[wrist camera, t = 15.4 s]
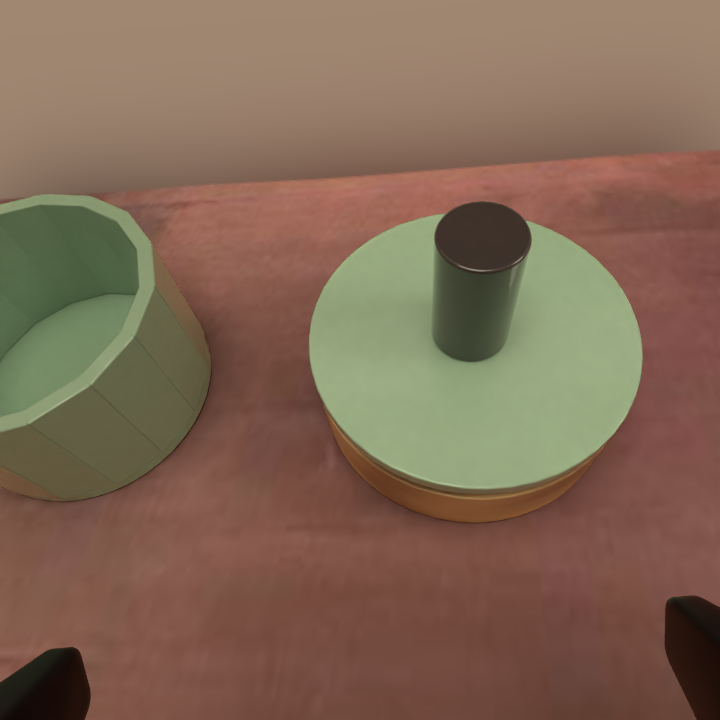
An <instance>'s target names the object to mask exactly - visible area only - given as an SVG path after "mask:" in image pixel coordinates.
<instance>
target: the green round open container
mask: <svg viewBox="0 0 720 720" xmlns="http://www.w3.org/2000/svg"><path fill="white" fill-rule="evenodd" d="M210 375H211V356H210V351H209V346H208V342H207V340H206V337H205V335H204V330H203V328H202V326H201V324H200V323H199V321H198V319H197V318H196V316H195V314H194V313H193V311H192V309H191V308H190V306H189V304H188V303H187V301H186V299H185V298H184V296H183V294H182V293H181V291H180V289H179V288H178V286H177V284H176V283H175V281H174V279H173V278H172V276H171V274H170V273H169V271H168V269H167V268H166V266H165V264H164V263H163V261H162V259H161V257H160V256H159V254H158V252H157V251H156V249H155V247H154V246H153V244H152V242H151V241H150V240H149V238H148V237H147V236H146V235H145V233H144V232H143V231H142V229H141V228H140V227H139V225H138V224H137V223H136V221H135V220H134V219H133V218H132V216H131V215H130V214H129V213H128V212H126V211H124V210H122V209H119V208H117V207H115V206H112V205H110V204H108V203H105V202H103V201H101V200H98V199H96V198H94V197H91V196H80V195H49V194H43V195H38V196H33V197H29V198H25V199H21V200H17V201H13V202H9V203H5V204H1V205H0V486H1V487H3V488H5V489H7V490H9V491H11V492H14V493H16V494H23V495H26V496H29V497H32V498H36V499H41V500H46V501H75V500H82V499H87V498H92V497H96V496H100V495H103V494H106V493H109V492H112V491H114V490H116V489H119V488H121V487H123V486H125V485H127V484H129V483H131V482H133V481H135V480H136V479H138V478H139V477H141V476H143V475H144V474H146V473H147V472H149V471H150V470H151V469H153V468H154V467H155V466H157V465H158V464H159V463H160V462H162V461H163V460H164V459H165V458H166V457H167V456H168V455H169V454H170V453H171V452H172V451H173V450H174V449H175V448H176V447H177V446H178V444H179V443H180V442H181V441H182V440H183V439H184V437H185V436H186V434H187V433H188V432H189V430H190V429H191V427H192V426H193V424H194V422H195V421H196V419H197V417H198V415H199V413H200V411H201V409H202V406H203V404H204V401H205V398H206V396H207V392H208V387H209V383H210Z"/></svg>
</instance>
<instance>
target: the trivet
mask: <svg viewBox="0 0 720 720" xmlns="http://www.w3.org/2000/svg"><path fill="white" fill-rule="evenodd" d="M324 408H325V407H324ZM325 411H326V409H325ZM326 414H327V417H328V420H329V423H330V426H331V429H332V432H333V435H334V437H335V439H336V441H337V443H338V445H339V447H340V449H341V451H342V453H343V454H344V456H345V457H346V458H347V460H348V461H349V463H350V464H351V466H352V467H353V468H354V469H355V470H356V471H357V472H358V473H359V475H360V476H361V477H362V478H363V479H364V480H365V481H366V482H368V483H369V484H370V485H371V486H372V487H374V488H375V489H376V490H377V491H378V492H380V493H381V494H383V495H384V496H386V497H388V498H389V499H391V500H392V501H394V502H395V503H397V504H399V505H402V506H404V507H406V508H408V509H410V510H412V511H415V512H418V513H421V514H424V515H427V516H430V517H433V518H438V519H444V520H449V521H455V522H474V523H478V522H490V521H499V520H504V519H508V518H513V517H518V516H520V515H523V514H526V513H528V512H531V511H534V510H537V509H538V508H540V507H542V506H544V505H546V504H548V503H550V502H552V501H553V500H555V499H556V498H558V497H559V496H560V495H562V494H563V493H564V492H566V491H567V490H568V489H570V488H571V487H572V486H573V485H574V484H575V483H576V482H577V481H578V480H579V479H580V478H581V477H582V476H583V474H584V473H585V472H586V470H587V469H588V468H589V466H590V465H591V464H592V463H593V461H594V460H595V459H596V457H597V456H598V455H599V453H600V452H601V451H602V449H603V448H604V447H605V445H606V444H607V443H608V442H607V443H606V444H605V445H604V446H603V447H602V448H601V449H600V450H599V451H598V452H597V453H596V454H595V455H594V456H593V457H591V458H590V459H588V460H587V461H586V462H584V463H583V464H582V465H580V466H579V467H578V468H576V469H574V470H572V471H570V472H569V473H567V474H565V475H563V476H561V477H559V478H557V479H555V480H552V481H550V482H547V483H544V484H541V485H539V486H536V487H533V488H528V489H523V490H519V491H514V492H509V493H497V494H464V493H456V492H450V491H444V490H438V489H434V488H431V487H427V486H424V485H421V484H418V483H414V482H412V481H409V480H407V479H405V478H403V477H400V476H398V475H396V474H394V473H392V472H390V471H388V470H387V469H385V468H383V467H382V466H380V465H378V464H377V463H375V462H374V461H372V460H371V459H369V458H368V457H367V456H366V455H364V454H363V453H362V452H361V451H360V450H358V449H357V448H356V447H355V446H354V445H353V444H352V443H351V442H350V441H349V440H348V439H347V438H346V437H345V436H344V435H343V434H342V433H341V431H340V430H339V429H338V427H337V426H336V424H335V423H334V422H333V420H332V419H331V417H330V416H329V415H328V413H327V411H326Z"/></svg>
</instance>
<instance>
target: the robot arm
mask: <svg viewBox="0 0 720 720" xmlns="http://www.w3.org/2000/svg"><path fill="white" fill-rule="evenodd" d="M665 650H666V654H667V658H668V660H669V663H670V665H671V667H672V669H673V671H674V673H675V675H676V677H677V679H678V682H679V684H680V686H681V688H682V690H683V692H684V694H685V696H686V698H687V700H688V702H689V704H690V706H691V708H692V711H693V713H694V715H695V717H696V719H697V720H720V607H718V606H716V605H714V604H712V603H710V602H709V601H707V600H705V599H703V598H701V597H698V596H681V597H672V598H670V599H668V600H667V603H666V608H665ZM90 697H91V694H90V687H89V683H88V679H87V675H86V672H85V668H84V664H83V661H82V657H81V654H80V652H79V651H78V649H76V648H74V647H68V648H55V649H50V650H47V651H46V652H44V653H43V654H41V655H40V656H38V657H37V658H35V659H34V660H33V661H31V662H30V663H28V664H27V665H25V666H24V667H22V668H21V669H19V670H18V671H17V672H15V673H14V674H12V675H11V676H9V677H8V678H6V679H5V680H3V681H2V682H0V720H85V717H86V714H87V712H88V708H89V704H90Z"/></svg>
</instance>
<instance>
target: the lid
mask: <svg viewBox="0 0 720 720" xmlns="http://www.w3.org/2000/svg"><path fill="white" fill-rule="evenodd" d="M309 359H310V365H311V371H312V375H313V378H314V381H315V384H316V388H317V391H318V394H319V397H320V399H321V401H322V403H323V405H324V407H325V409H326V411H327V413H328V415H329V416H330V417H331V419H332V420H333V422H334V423H335V424H336V426H337V427H338V429H339V430H340V431H341V433H342V434H343V435H344V436H345V437H346V438H347V439H348V440H349V441H350V442H351V443H352V444H353V445H354V446H355V447H356V448H357V449H358V450H360V451H361V452H362V453H363V454H364V455H366V456H367V457H368V458H369V459H371V460H372V461H374V462H375V463H377V464H378V465H380V466H382V467H383V468H385V469H387V470H388V471H390V472H392V473H394V474H396V475H398V476H400V477H403V478H405V479H407V480H409V481H412V482H414V483H418V484H421V485H424V486H427V487H431V488H434V489H438V490H444V491H450V492H456V493H464V494H497V493H509V492H514V491H519V490H523V489H528V488H533V487H536V486H539V485H541V484H544V483H547V482H550V481H552V480H555V479H557V478H559V477H561V476H563V475H565V474H567V473H569V472H570V471H572V470H574V469H576V468H578V467H579V466H580V465H582V464H583V463H584V462H586V461H587V460H588V459H590V458H591V457H593V456H594V455H595V454H596V453H597V452H598V451H599V450H600V449H601V448H602V447H603V446H604V445H605V444H606V443H607V442H608V441H609V440H610V439H611V437H612V436H613V435H614V433H615V432H616V431H617V429H618V428H619V426H620V425H621V424H622V422H623V421H624V419H625V418H626V416H627V414H628V412H629V410H630V408H631V406H632V404H633V402H634V400H635V397H636V394H637V390H638V387H639V383H640V380H641V371H642V363H643V357H642V341H641V336H640V331H639V327H638V322H637V320H636V317H635V315H634V312H633V309H632V307H631V304H630V303H629V301H628V299H627V297H626V295H625V294H624V292H623V290H622V288H621V287H620V286H619V284H618V283H617V282H616V280H615V279H614V278H613V276H612V275H611V274H610V273H609V272H608V271H607V270H606V269H605V268H604V267H603V265H602V264H601V263H600V262H599V261H598V260H597V259H595V258H594V257H593V256H592V255H590V254H589V253H588V252H587V251H586V250H584V249H583V248H582V247H580V246H579V245H577V244H575V243H574V242H572V241H571V240H569V239H568V238H566V237H564V236H562V235H560V234H558V233H556V232H554V231H552V230H550V229H548V228H545V227H543V226H540V225H538V224H535V223H532V222H529V221H526V220H524V219H523V217H522V216H521V215H519V214H518V213H517V212H516V211H514V210H513V209H511V208H509V207H507V206H504V205H501V204H498V203H493V202H471V203H466V204H463V205H460V206H458V207H455V208H454V209H452V210H450V211H449V212H448V213H446V214H437V215H433V216H428V217H423V218H419V219H416V220H412V221H409V222H406V223H403V224H400V225H398V226H396V227H393V228H391V229H389V230H386V231H384V232H383V233H381V234H379V235H377V236H376V237H374V238H372V239H370V240H369V241H368V242H366V243H365V244H363V245H362V246H361V247H359V248H358V249H356V250H355V251H354V252H353V253H352V254H351V255H350V256H349V257H348V258H347V259H345V260H344V261H343V263H342V264H341V265H340V266H339V267H338V268H337V270H336V271H335V272H334V273H333V274H332V276H331V277H330V279H329V281H328V282H327V284H326V285H325V287H324V288H323V290H322V293H321V295H320V297H319V299H318V301H317V303H316V306H315V309H314V313H313V316H312V319H311V325H310V332H309Z"/></svg>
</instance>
